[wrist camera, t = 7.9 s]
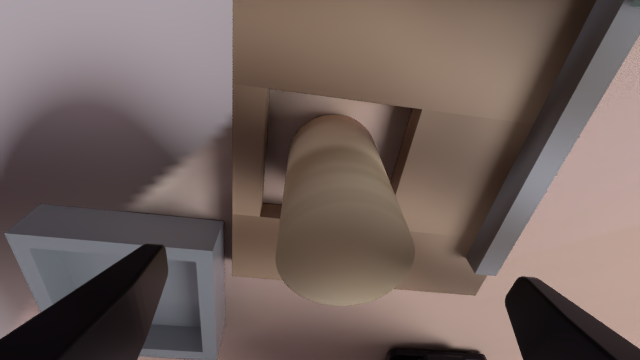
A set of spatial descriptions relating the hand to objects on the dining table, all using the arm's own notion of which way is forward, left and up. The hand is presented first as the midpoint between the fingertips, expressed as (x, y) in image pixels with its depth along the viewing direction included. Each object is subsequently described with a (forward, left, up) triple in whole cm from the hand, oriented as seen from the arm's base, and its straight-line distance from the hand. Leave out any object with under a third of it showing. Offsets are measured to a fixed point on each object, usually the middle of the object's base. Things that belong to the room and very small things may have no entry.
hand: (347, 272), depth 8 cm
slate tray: (-8, +9, -6) cm, 13 cm away
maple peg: (0, 0, -6) cm, 6 cm away
